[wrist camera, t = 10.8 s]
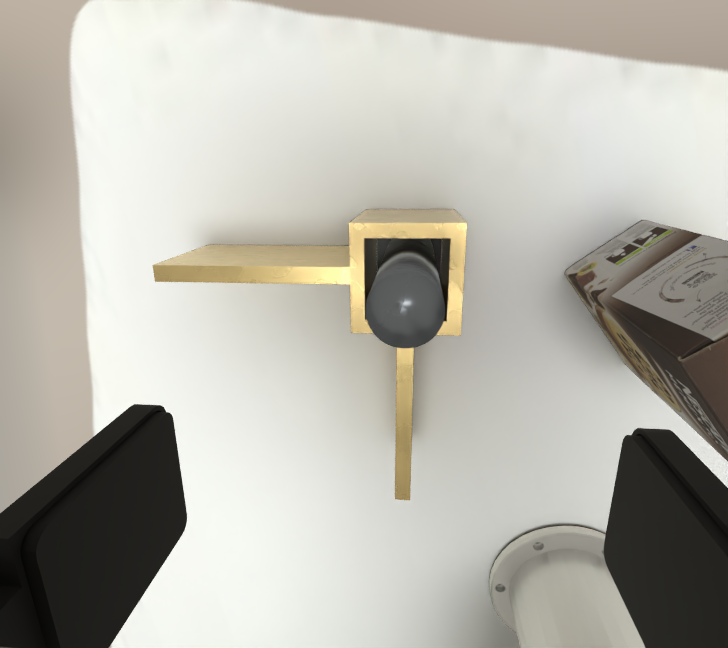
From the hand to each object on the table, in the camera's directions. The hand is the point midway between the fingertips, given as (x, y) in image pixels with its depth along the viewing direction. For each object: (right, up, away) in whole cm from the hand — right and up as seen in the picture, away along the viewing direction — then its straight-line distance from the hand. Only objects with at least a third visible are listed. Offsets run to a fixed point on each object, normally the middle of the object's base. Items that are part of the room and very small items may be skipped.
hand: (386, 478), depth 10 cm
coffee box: (+19, +5, +24) cm, 31 cm away
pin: (+3, +8, +25) cm, 26 cm away
